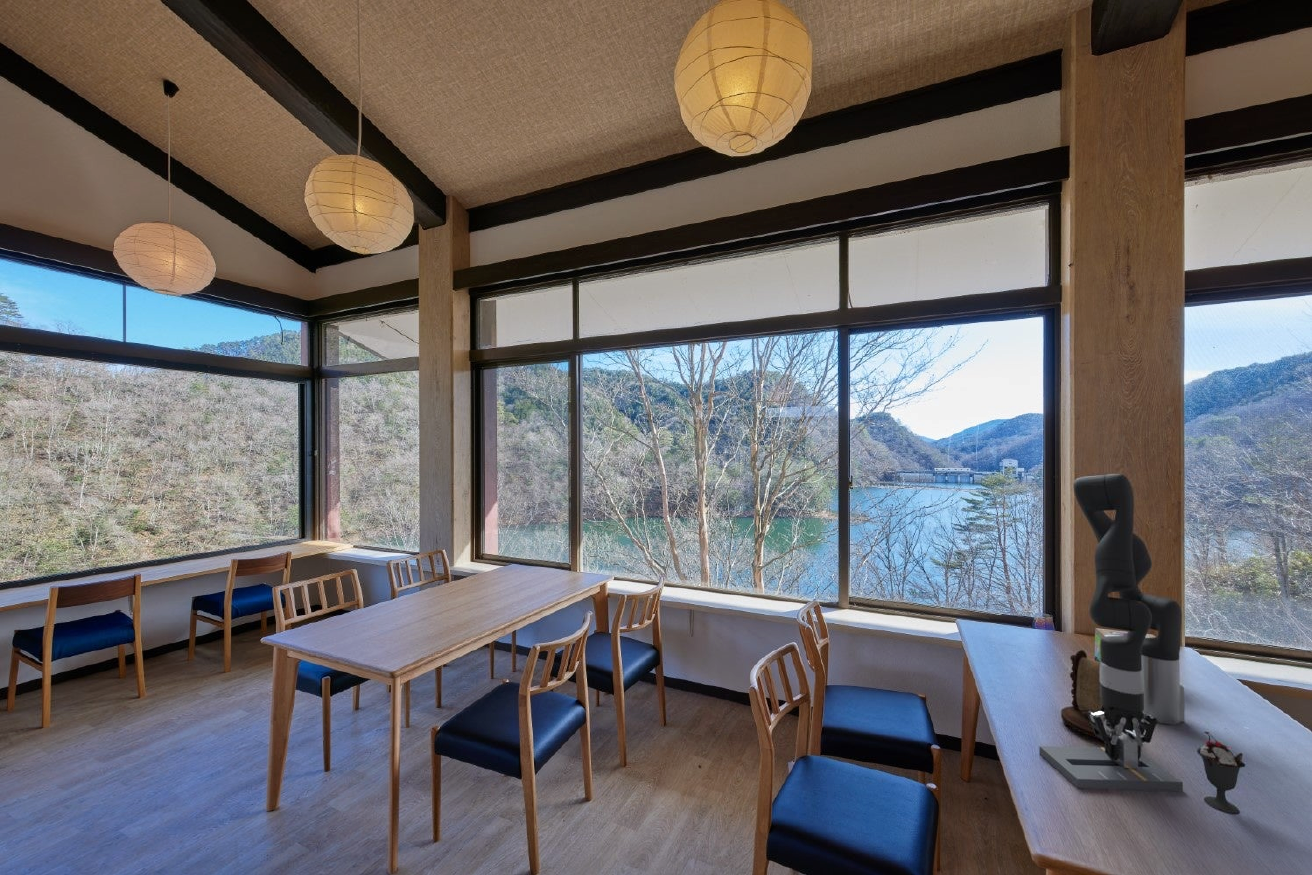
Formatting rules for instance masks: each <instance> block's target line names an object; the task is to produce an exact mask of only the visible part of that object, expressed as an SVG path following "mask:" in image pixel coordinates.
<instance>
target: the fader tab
mask: <svg viewBox="0 0 1312 875" xmlns="http://www.w3.org/2000/svg"><path fill="white" fill-rule="evenodd" d="M1110 737H1111V734H1110ZM1116 745H1117V749H1118V760H1114V761H1115V762H1117V763H1118V766H1122V767H1123V768H1135V769H1138V742H1137V741H1135V740H1134V739H1132V738H1131V737H1129V736H1128V735H1126V734H1125V733H1123V732H1122V733H1121V736H1118V740H1117V743H1116Z"/></svg>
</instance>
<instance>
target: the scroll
mask: <svg viewBox="0 0 1312 875" xmlns="http://www.w3.org/2000/svg"><path fill="white" fill-rule="evenodd" d="M1070 661H1071V664H1072V665H1071V672H1070V673H1069V677H1070V679H1071V681H1072V683H1071V687H1072V689H1071V690H1070V693H1071V698H1072V701H1071V704H1072V705H1071V706H1066V707H1064V708H1062V709H1061V711H1060V717H1061V719H1062V722H1063V724H1064V726H1065V727H1067V726H1070V727H1071V728H1072V729H1075V730H1076V731H1078V732H1081V733H1083V734H1086V735H1087V736H1091V737H1094V738H1098V739H1100V738H1099V737H1097V736H1096V735H1095V734H1094V731H1093V728H1092V725H1091V722H1090V720H1089V717H1088V712H1089V711H1091V712H1093V713H1096V712H1099V711H1100V709H1101V707H1102V702H1101V699H1100V673H1099V671H1100V662H1097V661H1095V659H1092V658H1091V659H1090V658H1088V656H1087V653H1086V651H1084V650H1083V649H1080V650H1078V651H1077V652H1076V654H1072V655H1070ZM1103 721H1105V718H1103ZM1103 724H1104V723H1103ZM1111 727H1112V726H1111ZM1112 728H1114V727H1112ZM1114 729H1115V728H1114ZM1122 732H1123V733H1125V734H1126V735H1127V733H1126V730H1122Z"/></svg>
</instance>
